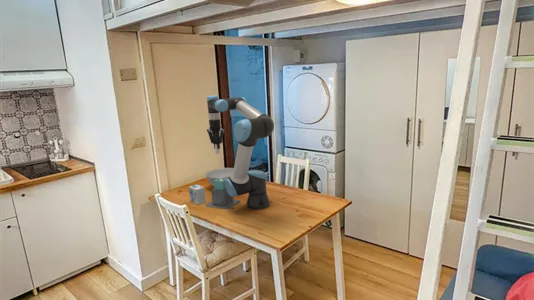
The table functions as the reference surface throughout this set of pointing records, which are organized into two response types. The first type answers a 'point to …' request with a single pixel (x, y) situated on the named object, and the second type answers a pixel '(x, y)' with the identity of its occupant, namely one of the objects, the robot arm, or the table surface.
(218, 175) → the decorative bowl
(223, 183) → the sleeve
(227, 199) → the bearing block
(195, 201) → the light bulb box
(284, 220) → the table surface
